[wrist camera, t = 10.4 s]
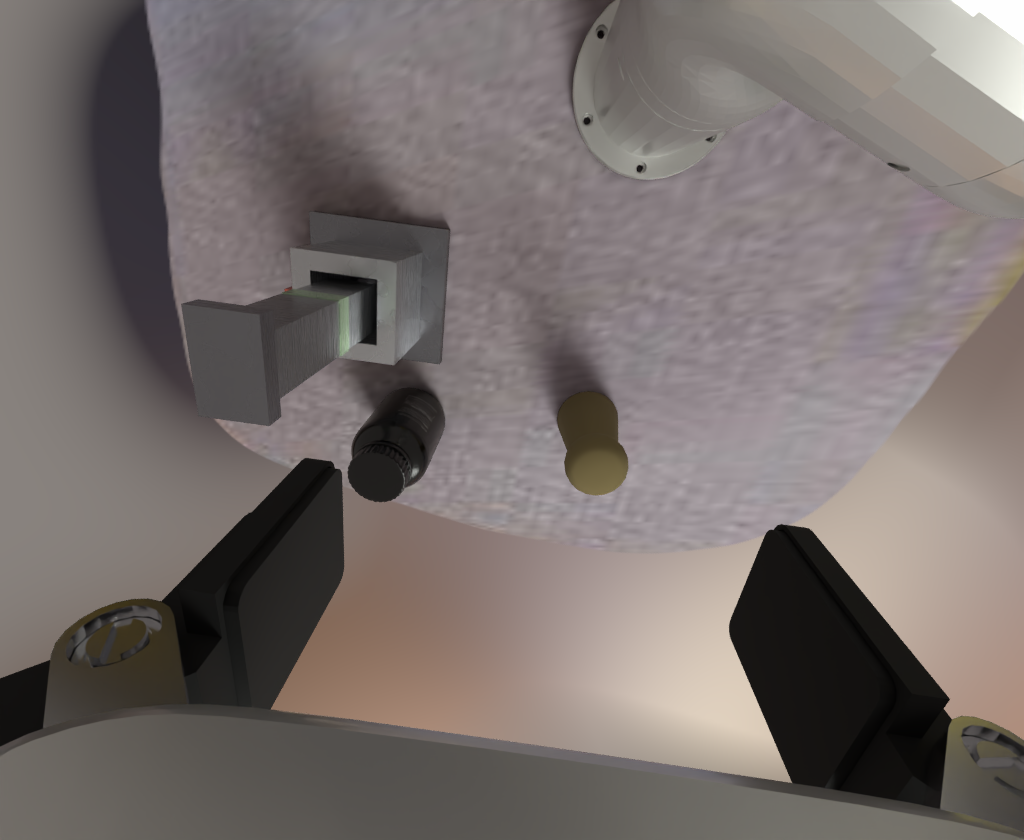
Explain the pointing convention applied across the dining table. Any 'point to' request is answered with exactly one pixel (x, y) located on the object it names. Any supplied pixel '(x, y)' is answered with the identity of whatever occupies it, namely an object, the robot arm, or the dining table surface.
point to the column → (271, 345)
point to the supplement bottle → (395, 444)
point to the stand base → (383, 280)
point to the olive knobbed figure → (592, 443)
